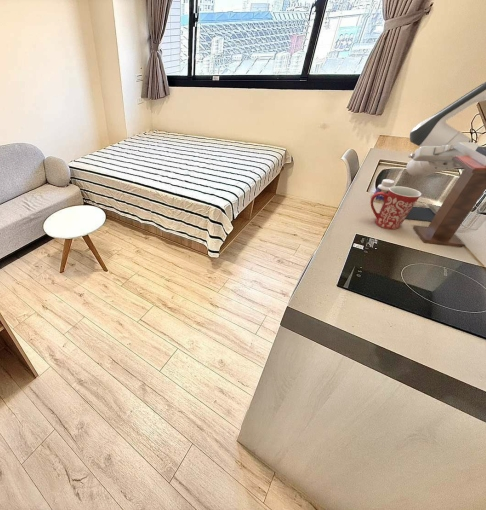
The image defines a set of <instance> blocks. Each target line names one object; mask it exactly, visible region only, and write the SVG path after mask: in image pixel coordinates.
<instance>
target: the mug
mask: <svg viewBox="0 0 486 510" xmlns="http://www.w3.org/2000/svg"><path fill="white" fill-rule="evenodd" d="M374 193H375V192H374ZM374 193H373V195H372V196H371V199H370V208H371V211H372V212H373V215H374V217H375V218H376V219H375V224H376V226H379V227H380V228H383V229H387V230H398V229H399V228H400V227H401V226H402V224H403V222H404V221H405V220H406V219H405V218H406V216H407V215H408V213H409V212H410V210H411V209H412V207H413V206H414V207H415V204H416V203H417V202H418V200H419V198H420V197H421V196H422V192H421V191H419V190H418V189H414V188H412V187H407V186H399V185H393V187H390V188H389V191H388V194H386V193H383V192H377V193H375V194H374ZM378 195H383V197H384V203H382V205H381V208H380V210H379V212H377V210H376V209H375V205H374V202H375V201H374V198H375V197H376V196H378Z"/></svg>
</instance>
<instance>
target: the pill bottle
mask: <svg viewBox="0 0 486 510" xmlns="http://www.w3.org/2000/svg"><path fill="white" fill-rule="evenodd" d="M394 184H395V180H393V179H388V178H384V179H382V180H381V183H379V184H378V186H377V187H376V189H375V190H374V193H373V195H374V194H375V193H377V192H383V193H386V194H388V191H389V188H390V187H393V186H394ZM373 202H375V203H379V204H383V203H384V197H383V195H378V196H376V197H375V198H374V201H373Z"/></svg>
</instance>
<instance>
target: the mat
mask: <svg viewBox="0 0 486 510" xmlns="http://www.w3.org/2000/svg"><path fill="white" fill-rule="evenodd" d="M435 215H436V213H435V212H434V210H432V209H431V207H425V206H415V205H414V206H413V207H412V209H411V210H410V212H409V213H408V215H407V216H406V218H405V219H404V220H410V221H420V222H430V223H431V221H432V220H433V218H434V216H435Z"/></svg>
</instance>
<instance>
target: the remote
mask: <svg viewBox="0 0 486 510" xmlns="http://www.w3.org/2000/svg"><path fill="white" fill-rule="evenodd" d="M455 149H457V150H458V151H460V152H462V153H463V154H465V155H467V156H469V157H470V158H472V159H474V160H476V161H477V162H479V163H481V164H482V165H484V166H486V147H485V146H482V145H480V144H478V143H476V142H458V143H457V145H456V147H455Z"/></svg>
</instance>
